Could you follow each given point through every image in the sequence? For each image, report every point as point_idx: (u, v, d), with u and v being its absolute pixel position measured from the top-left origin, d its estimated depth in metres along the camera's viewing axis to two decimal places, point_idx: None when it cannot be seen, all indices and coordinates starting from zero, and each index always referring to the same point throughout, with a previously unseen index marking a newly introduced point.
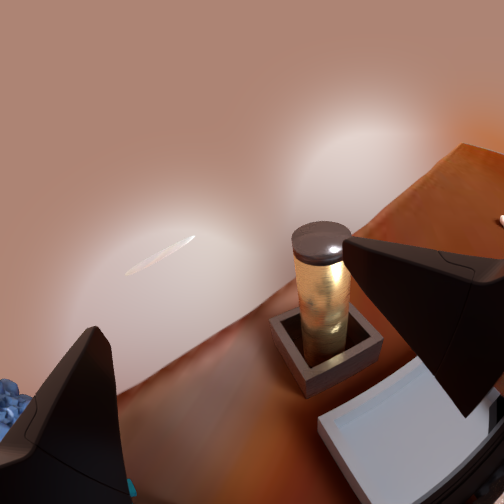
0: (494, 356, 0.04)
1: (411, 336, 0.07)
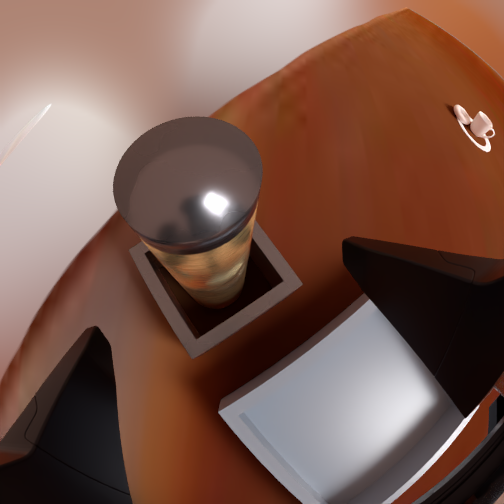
0: (494, 356, 0.04)
1: (411, 336, 0.07)
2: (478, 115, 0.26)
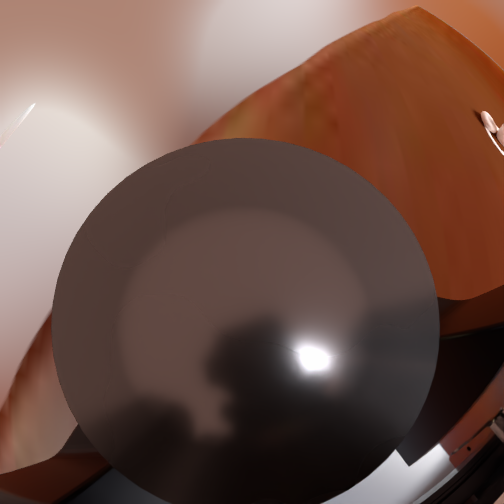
0: (431, 418, 0.04)
1: None
2: None
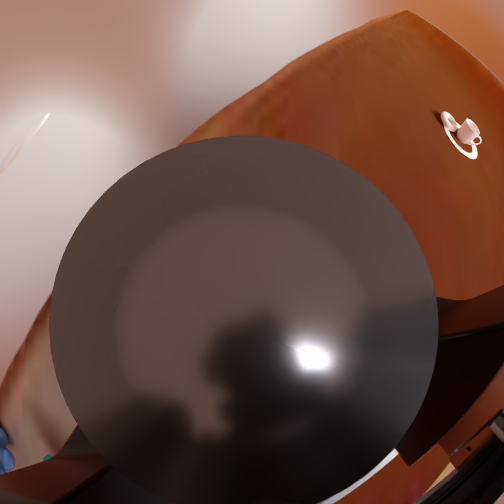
0: (431, 418, 0.04)
1: None
2: (465, 122, 0.28)
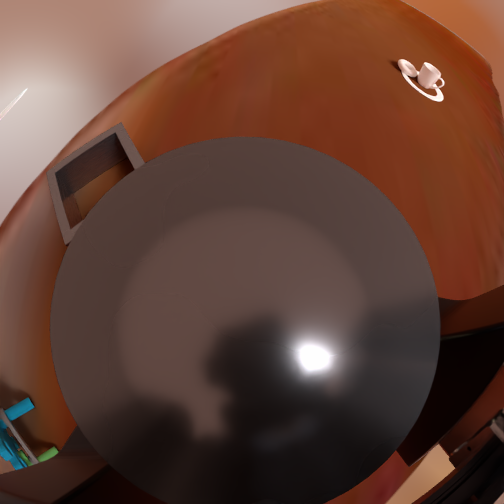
0: (431, 418, 0.04)
1: None
2: (423, 65, 0.26)
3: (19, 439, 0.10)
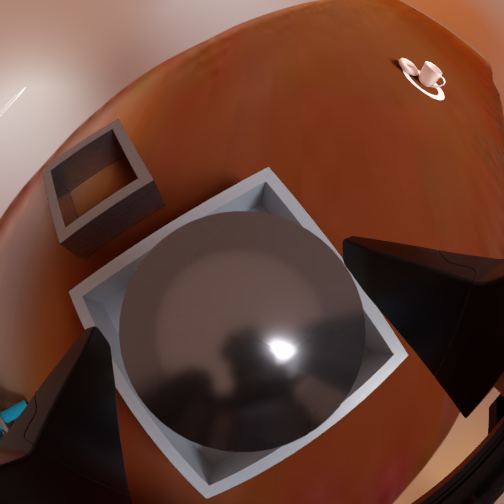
0: (494, 356, 0.04)
1: (411, 336, 0.07)
2: (424, 64, 0.26)
3: None
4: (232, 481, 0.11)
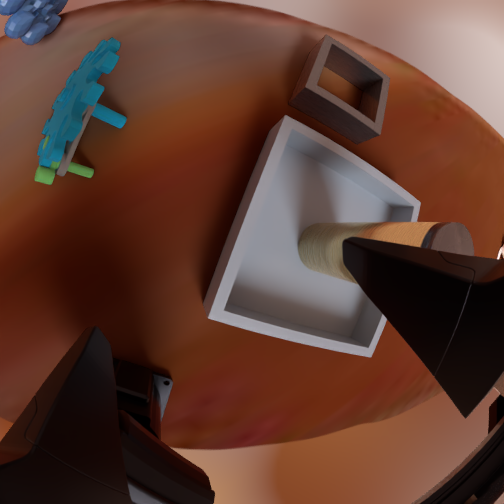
0: (494, 356, 0.04)
1: (411, 336, 0.07)
2: None
3: (79, 133, 0.14)
4: (240, 322, 0.18)
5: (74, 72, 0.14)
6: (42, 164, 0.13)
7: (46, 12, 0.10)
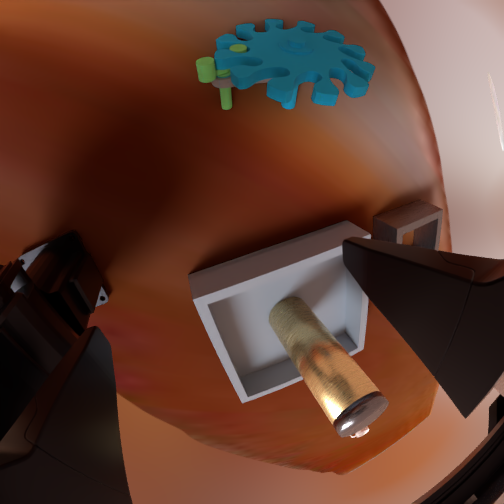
0: (494, 356, 0.04)
1: (411, 336, 0.07)
2: (367, 428, 0.46)
3: (264, 80, 0.14)
4: (207, 319, 0.19)
5: (313, 27, 0.14)
6: (216, 61, 0.12)
7: None
